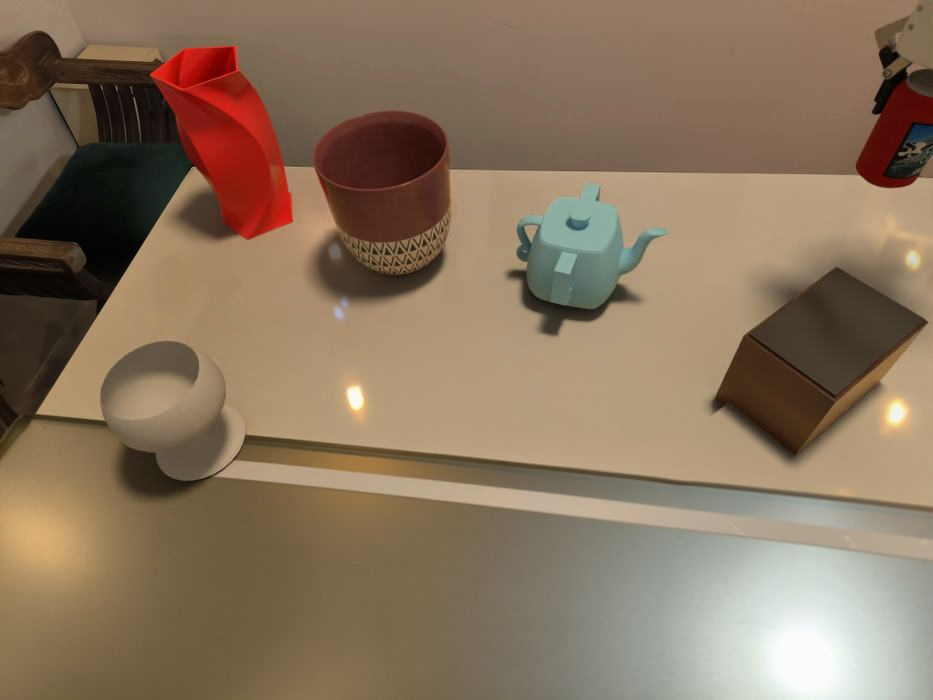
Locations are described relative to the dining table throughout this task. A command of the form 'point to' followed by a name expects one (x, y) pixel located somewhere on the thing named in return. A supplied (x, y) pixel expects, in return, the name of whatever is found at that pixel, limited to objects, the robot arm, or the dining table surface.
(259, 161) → the vase
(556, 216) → the teapot
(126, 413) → the chalice
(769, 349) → the riser
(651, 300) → the dining table surface
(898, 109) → the beverage can
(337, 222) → the planter
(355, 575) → the dining table surface
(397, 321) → the dining table surface
